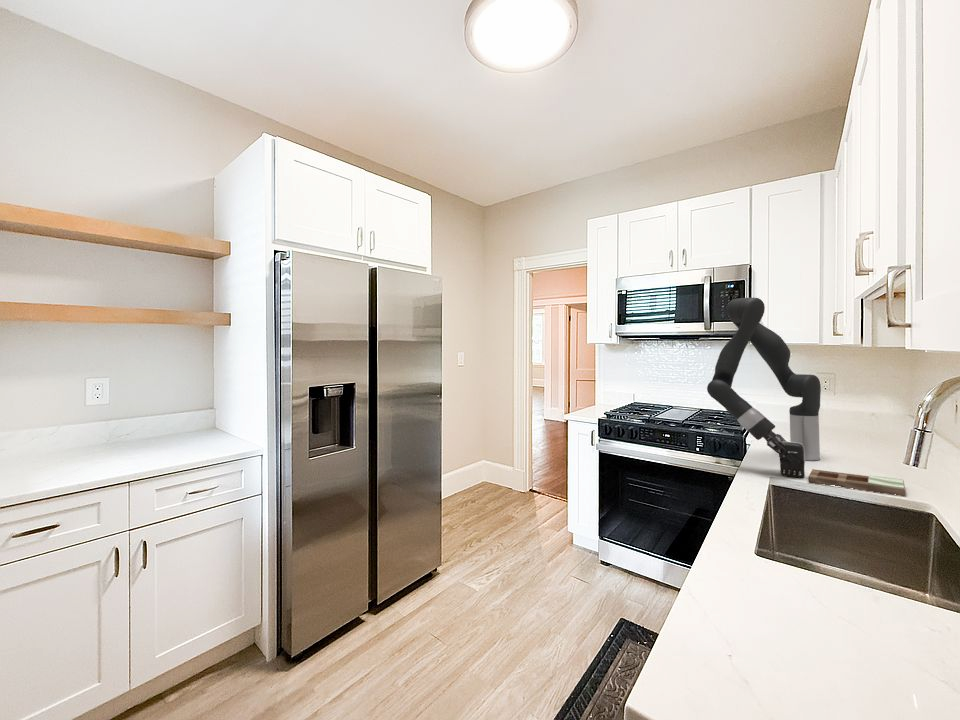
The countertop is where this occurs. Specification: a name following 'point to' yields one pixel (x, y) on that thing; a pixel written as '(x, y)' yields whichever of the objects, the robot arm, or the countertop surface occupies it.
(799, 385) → the robot arm
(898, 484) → the board
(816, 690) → the countertop surface
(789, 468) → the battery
